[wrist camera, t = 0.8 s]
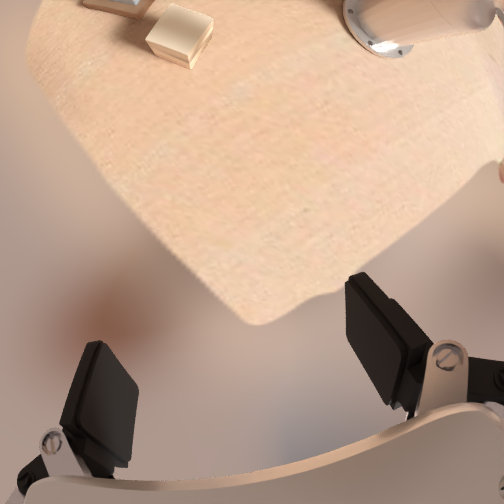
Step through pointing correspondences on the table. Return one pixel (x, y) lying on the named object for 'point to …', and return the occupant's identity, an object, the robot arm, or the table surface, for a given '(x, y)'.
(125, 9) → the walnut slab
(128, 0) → the grey slab
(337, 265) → the table surface
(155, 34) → the beech block
